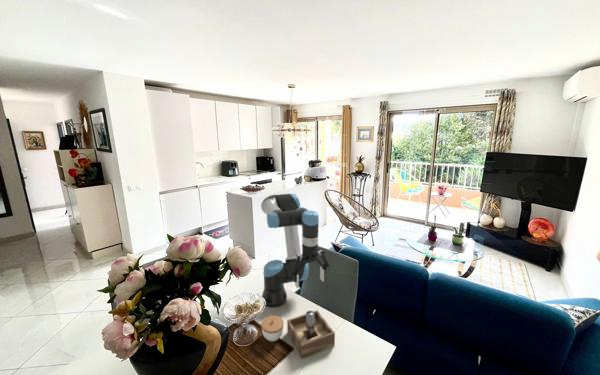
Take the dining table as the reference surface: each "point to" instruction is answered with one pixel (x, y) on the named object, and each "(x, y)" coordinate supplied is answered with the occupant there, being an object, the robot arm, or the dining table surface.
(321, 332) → the box
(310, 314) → the peg
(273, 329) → the lidded jar
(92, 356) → the dining table surface
